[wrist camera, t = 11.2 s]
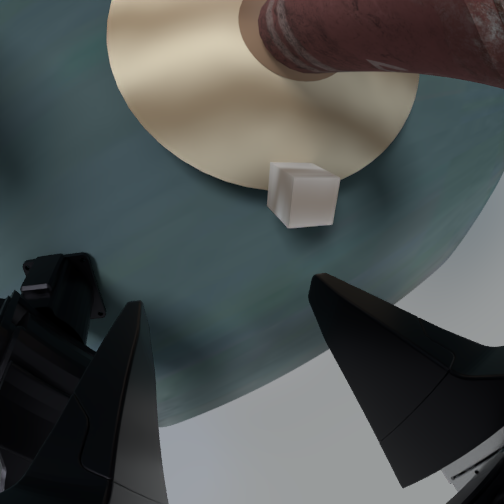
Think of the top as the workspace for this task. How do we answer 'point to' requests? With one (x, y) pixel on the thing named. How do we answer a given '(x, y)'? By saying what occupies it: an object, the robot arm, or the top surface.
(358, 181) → the top surface
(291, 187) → the turntable
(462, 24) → the can
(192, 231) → the top surface
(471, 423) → the robot arm
